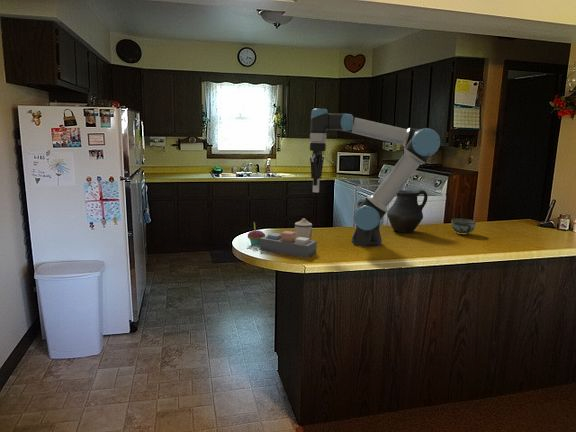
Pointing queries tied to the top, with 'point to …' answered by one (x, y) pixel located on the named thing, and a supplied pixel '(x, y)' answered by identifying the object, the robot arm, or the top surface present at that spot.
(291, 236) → the orange cube
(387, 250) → the top surface
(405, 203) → the pitcher
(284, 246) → the tray
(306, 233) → the teacup with lid
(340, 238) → the top surface
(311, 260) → the top surface
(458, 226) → the bowl
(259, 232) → the cupcake
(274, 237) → the blue cube
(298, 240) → the key ivory
